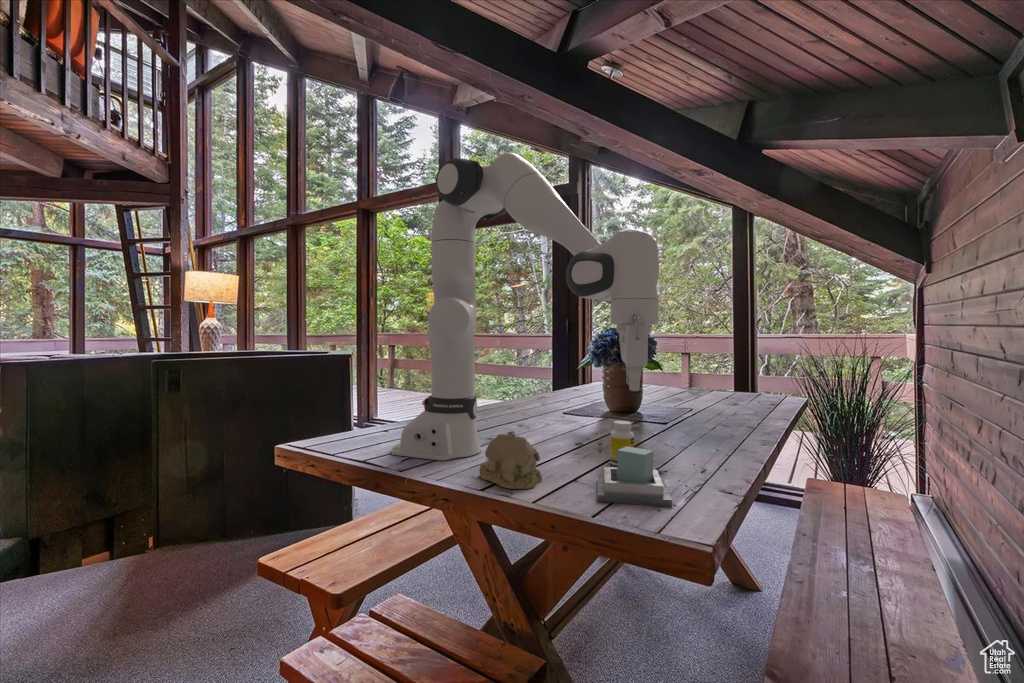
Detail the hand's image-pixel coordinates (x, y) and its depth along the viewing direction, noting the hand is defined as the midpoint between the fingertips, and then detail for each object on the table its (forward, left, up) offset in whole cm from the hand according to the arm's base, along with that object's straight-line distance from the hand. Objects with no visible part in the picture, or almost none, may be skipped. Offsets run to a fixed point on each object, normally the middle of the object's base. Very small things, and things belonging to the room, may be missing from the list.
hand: (632, 387), depth 92 cm
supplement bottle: (-1, +20, -20) cm, 29 cm away
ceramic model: (-24, +4, -21) cm, 32 cm away
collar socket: (0, 0, -20) cm, 20 cm away
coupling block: (+1, 0, -19) cm, 19 cm away
